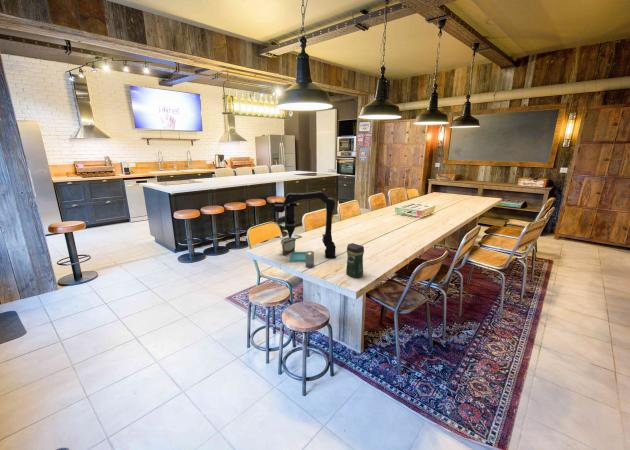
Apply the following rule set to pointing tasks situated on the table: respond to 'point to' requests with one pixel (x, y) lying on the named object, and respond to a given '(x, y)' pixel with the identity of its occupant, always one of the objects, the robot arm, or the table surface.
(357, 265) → the coffee jar
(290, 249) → the food container
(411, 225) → the table surface
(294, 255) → the teal tray
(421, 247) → the table surface
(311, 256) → the grey tin
